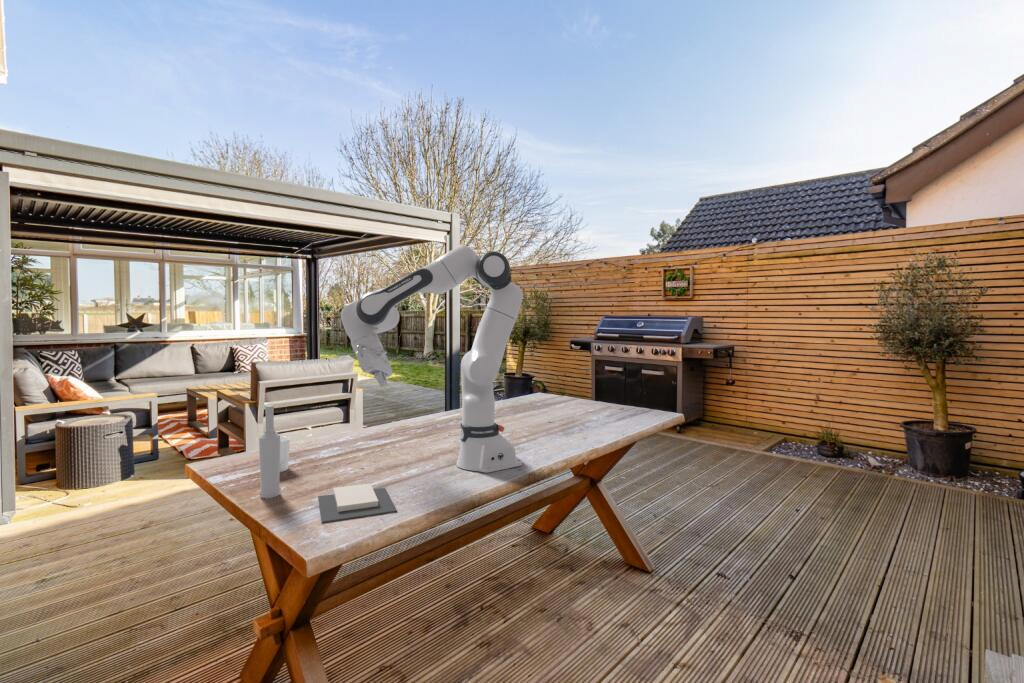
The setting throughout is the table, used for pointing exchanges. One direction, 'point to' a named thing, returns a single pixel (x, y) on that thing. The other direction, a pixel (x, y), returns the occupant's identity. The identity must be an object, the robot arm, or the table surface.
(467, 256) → the robot arm
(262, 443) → the bottle
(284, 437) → the white cup
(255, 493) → the table surface
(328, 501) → the mat
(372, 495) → the tile
